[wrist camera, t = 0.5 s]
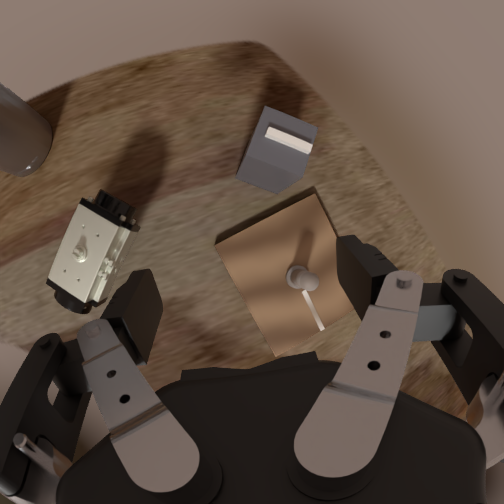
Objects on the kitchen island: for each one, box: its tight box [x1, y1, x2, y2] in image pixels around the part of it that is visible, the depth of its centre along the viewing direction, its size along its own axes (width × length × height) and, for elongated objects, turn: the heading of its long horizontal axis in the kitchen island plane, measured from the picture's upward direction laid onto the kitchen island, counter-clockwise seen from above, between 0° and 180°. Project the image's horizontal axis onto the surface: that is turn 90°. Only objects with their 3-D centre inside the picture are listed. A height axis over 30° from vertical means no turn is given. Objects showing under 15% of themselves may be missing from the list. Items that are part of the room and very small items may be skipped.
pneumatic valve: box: [46, 189, 140, 314], centre depth 28 cm, size 6×12×12 cm, turn 152°
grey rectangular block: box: [235, 106, 318, 194], centre depth 31 cm, size 6×6×11 cm
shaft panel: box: [214, 194, 354, 357], centre depth 34 cm, size 16×14×6 cm
